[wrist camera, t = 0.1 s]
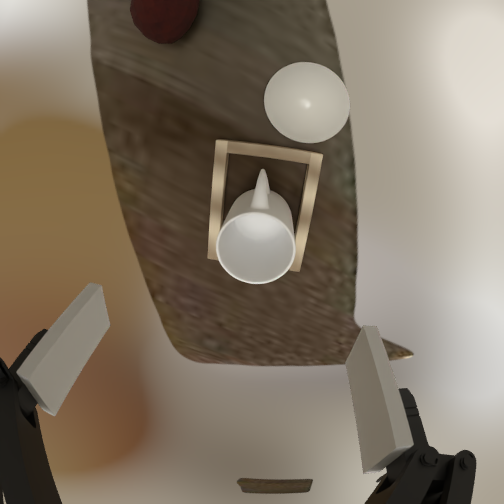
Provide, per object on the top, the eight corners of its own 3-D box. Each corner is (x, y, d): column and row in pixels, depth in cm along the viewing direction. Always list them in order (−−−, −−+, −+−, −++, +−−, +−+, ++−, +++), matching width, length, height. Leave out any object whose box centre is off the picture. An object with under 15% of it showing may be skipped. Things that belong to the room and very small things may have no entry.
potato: (204, -23, 24) (185, -51, 16) (210, 43, 29) (190, 24, 21) (146, -7, 25) (117, -28, 17) (150, 57, 30) (117, 46, 22)
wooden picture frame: (219, 138, 35) (216, 140, 34) (320, 152, 35) (323, 154, 33) (210, 252, 43) (207, 258, 41) (298, 264, 43) (299, 271, 41)
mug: (297, 165, 36) (305, 184, 27) (287, 246, 42) (290, 287, 32) (233, 160, 37) (217, 176, 27) (229, 241, 42) (215, 280, 33)
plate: (269, 57, 30) (269, 56, 29) (353, 73, 30) (354, 72, 29) (259, 135, 35) (259, 136, 34) (341, 149, 35) (343, 150, 34)
